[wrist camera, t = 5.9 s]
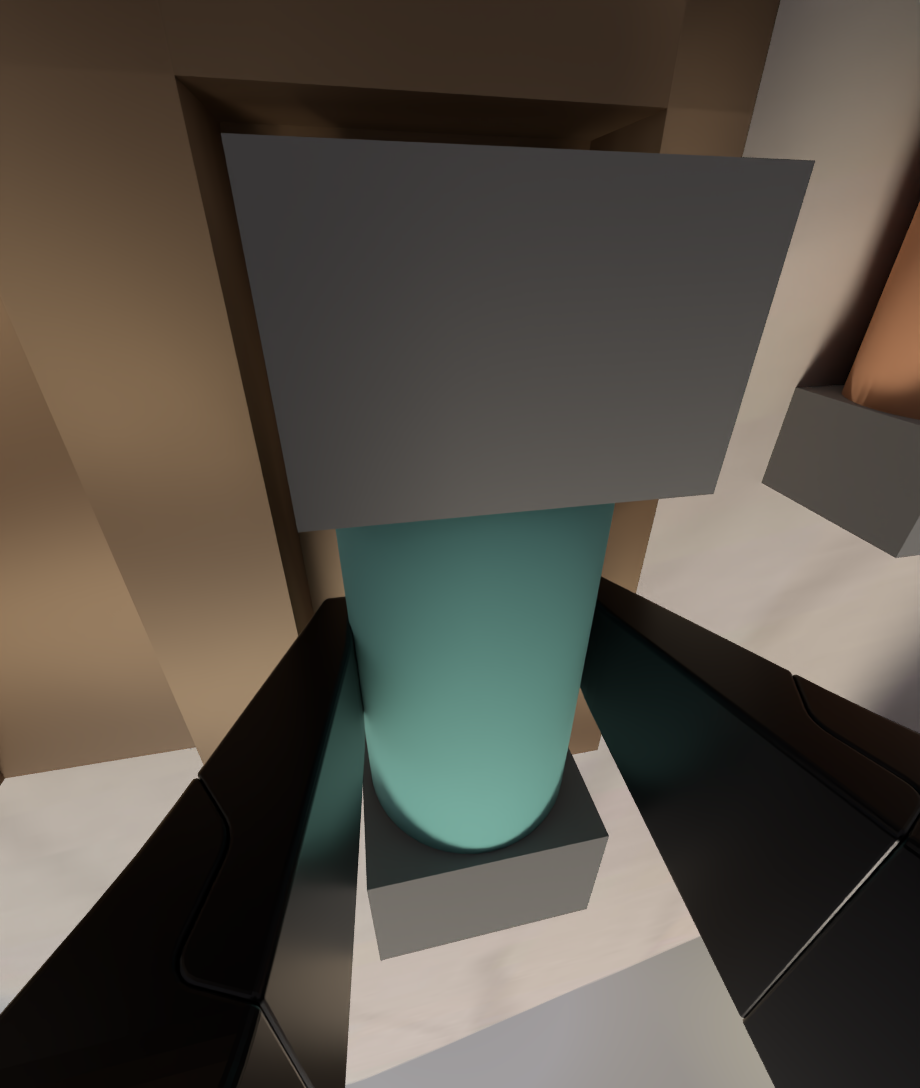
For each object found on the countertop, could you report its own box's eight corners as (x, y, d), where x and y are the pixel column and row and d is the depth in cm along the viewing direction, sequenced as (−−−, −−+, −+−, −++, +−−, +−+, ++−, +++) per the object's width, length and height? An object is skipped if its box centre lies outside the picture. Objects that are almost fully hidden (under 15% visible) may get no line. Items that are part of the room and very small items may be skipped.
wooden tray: (558, 672, 15) (597, 749, 13) (-36, 765, 12) (-125, 887, 10) (654, 56, 8) (786, -25, 6) (-741, -65, 5) (-1679, -336, 3)
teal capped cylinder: (522, 736, 12) (586, 908, 9) (369, 764, 12) (380, 961, 8) (582, 203, 6) (814, 161, 3) (286, 196, 6) (220, 133, 3)
